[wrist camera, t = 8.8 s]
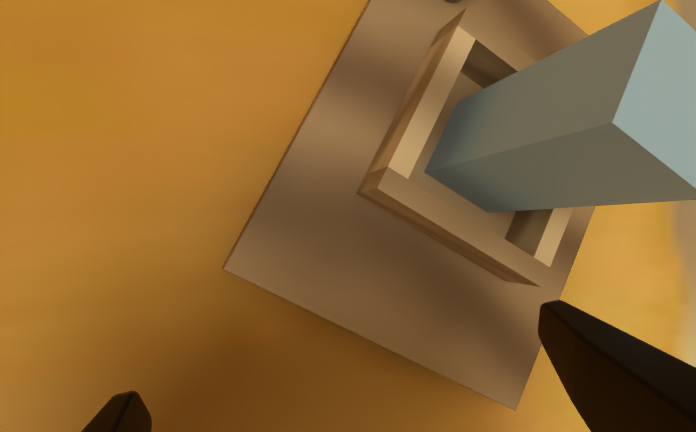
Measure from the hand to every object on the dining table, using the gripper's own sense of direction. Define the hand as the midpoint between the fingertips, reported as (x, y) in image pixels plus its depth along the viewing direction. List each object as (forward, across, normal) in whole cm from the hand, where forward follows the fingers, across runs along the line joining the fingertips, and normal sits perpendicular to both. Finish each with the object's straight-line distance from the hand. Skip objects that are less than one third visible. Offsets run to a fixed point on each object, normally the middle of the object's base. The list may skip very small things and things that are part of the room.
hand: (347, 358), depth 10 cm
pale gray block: (+12, -8, +2) cm, 15 cm away
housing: (+13, -8, +2) cm, 15 cm away
